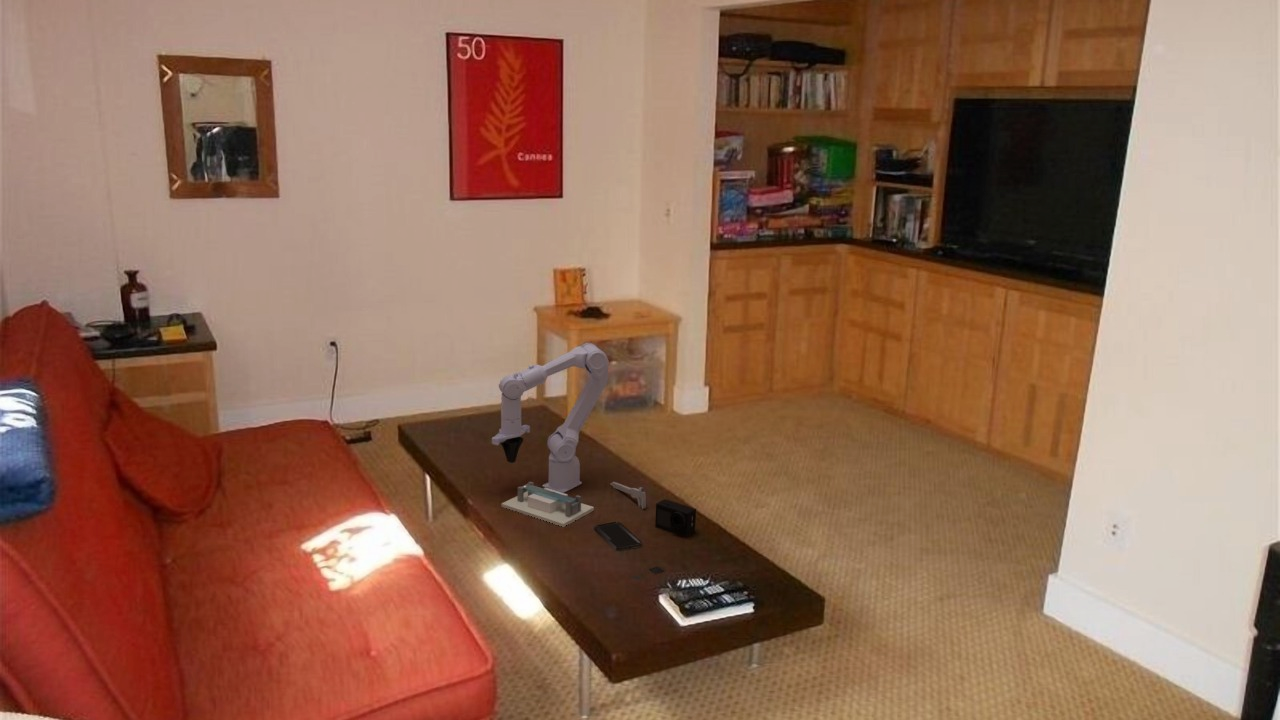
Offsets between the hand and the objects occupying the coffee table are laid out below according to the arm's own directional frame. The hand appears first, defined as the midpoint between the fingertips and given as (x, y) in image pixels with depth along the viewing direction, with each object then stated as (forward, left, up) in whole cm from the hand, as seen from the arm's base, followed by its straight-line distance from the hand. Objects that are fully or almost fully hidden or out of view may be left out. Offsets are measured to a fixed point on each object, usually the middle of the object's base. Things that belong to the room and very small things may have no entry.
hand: (511, 461), depth 277 cm
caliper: (-18, +29, -10) cm, 36 cm away
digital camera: (-7, +52, -10) cm, 53 cm away
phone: (+6, +42, -10) cm, 44 cm away
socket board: (+3, +16, -9) cm, 19 cm away
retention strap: (+3, +16, -6) cm, 17 cm away
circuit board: (+16, +60, -10) cm, 63 cm away
